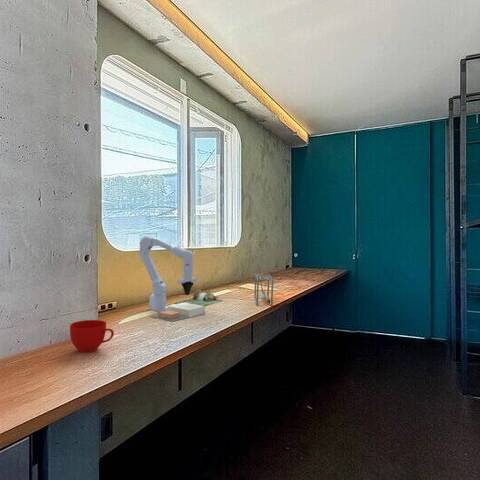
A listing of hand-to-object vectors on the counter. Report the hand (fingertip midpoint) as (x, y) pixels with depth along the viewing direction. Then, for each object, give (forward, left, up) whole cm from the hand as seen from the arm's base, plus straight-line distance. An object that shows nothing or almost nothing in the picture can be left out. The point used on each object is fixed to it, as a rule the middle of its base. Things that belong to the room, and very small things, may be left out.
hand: (187, 294), depth 216 cm
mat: (+4, -18, -9) cm, 21 cm away
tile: (+4, -19, -8) cm, 21 cm away
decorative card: (-11, +28, -10) cm, 32 cm away
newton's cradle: (+20, +56, -10) cm, 60 cm away
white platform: (+4, -5, -9) cm, 11 cm away
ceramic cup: (+19, -77, -10) cm, 80 cm away
